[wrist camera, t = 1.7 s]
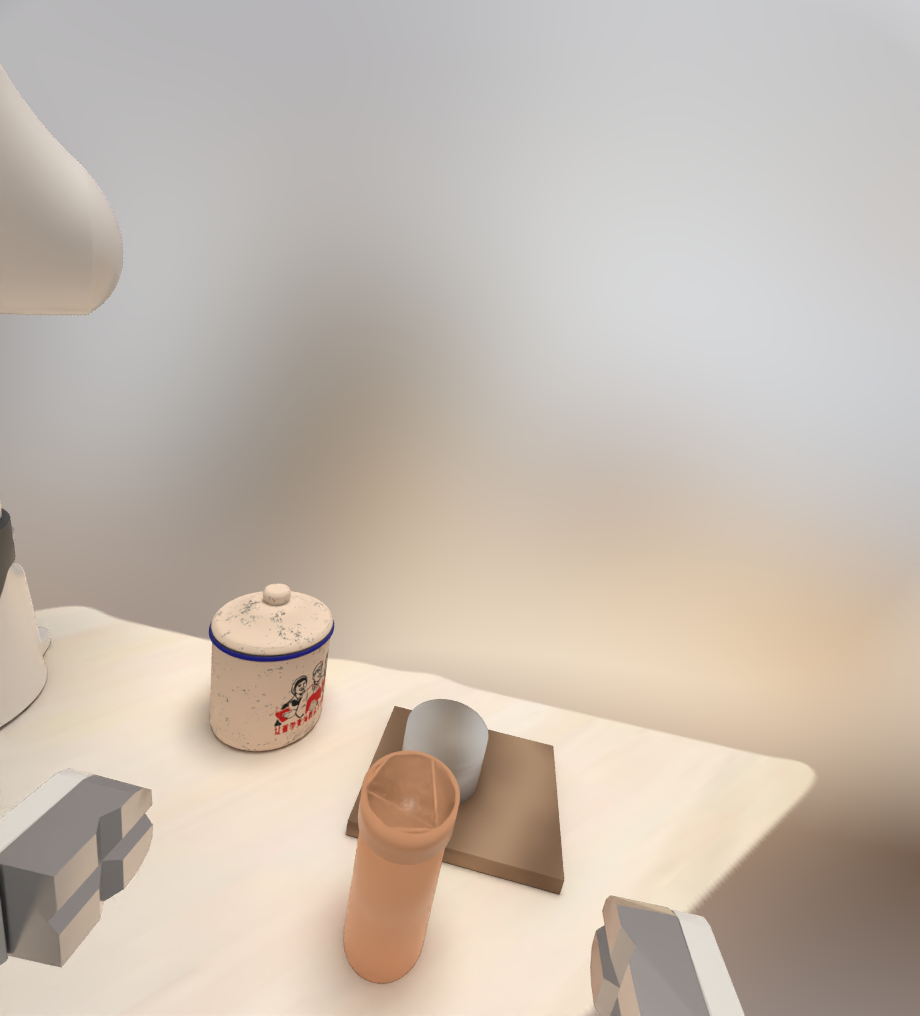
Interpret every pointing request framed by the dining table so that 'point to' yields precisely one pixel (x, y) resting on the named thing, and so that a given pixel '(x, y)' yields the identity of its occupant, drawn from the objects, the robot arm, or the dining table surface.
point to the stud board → (487, 792)
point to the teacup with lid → (268, 667)
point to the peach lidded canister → (397, 861)
